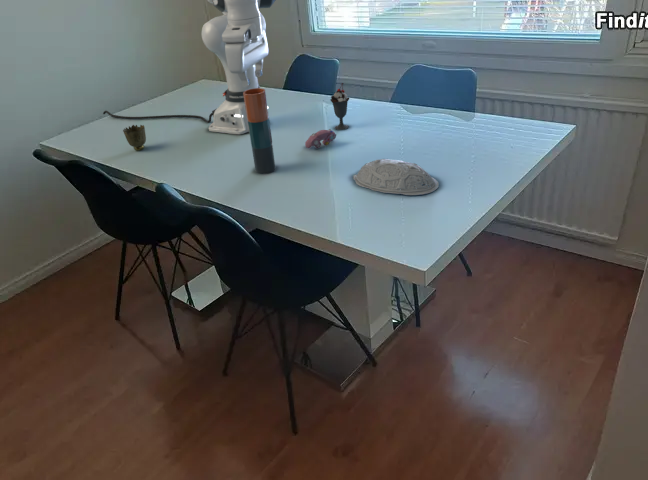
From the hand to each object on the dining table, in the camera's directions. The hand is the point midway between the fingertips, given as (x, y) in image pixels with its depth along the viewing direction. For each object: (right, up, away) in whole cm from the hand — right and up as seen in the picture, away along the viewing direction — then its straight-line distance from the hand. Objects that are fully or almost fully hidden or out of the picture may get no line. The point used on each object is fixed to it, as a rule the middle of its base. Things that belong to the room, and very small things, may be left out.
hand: (252, 81), depth 155 cm
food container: (+40, -29, -1) cm, 49 cm away
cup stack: (+3, -22, +15) cm, 27 cm away
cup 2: (-44, -10, +42) cm, 62 cm away
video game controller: (+20, -13, +26) cm, 36 cm away
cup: (+1, -9, +6) cm, 11 cm away
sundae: (+28, -3, +40) cm, 49 cm away
